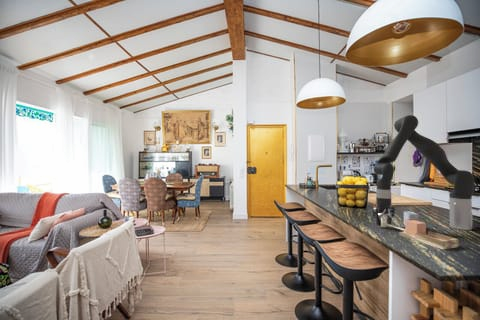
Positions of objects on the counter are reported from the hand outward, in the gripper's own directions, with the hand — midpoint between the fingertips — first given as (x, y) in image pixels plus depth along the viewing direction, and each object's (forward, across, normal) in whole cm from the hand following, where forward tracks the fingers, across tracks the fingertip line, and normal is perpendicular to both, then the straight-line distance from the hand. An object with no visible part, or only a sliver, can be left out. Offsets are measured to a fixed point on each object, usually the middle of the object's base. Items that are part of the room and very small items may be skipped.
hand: (383, 224), depth 133 cm
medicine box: (+2, -14, +6) cm, 15 cm away
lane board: (+1, 0, +24) cm, 24 cm away
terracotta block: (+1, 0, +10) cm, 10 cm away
